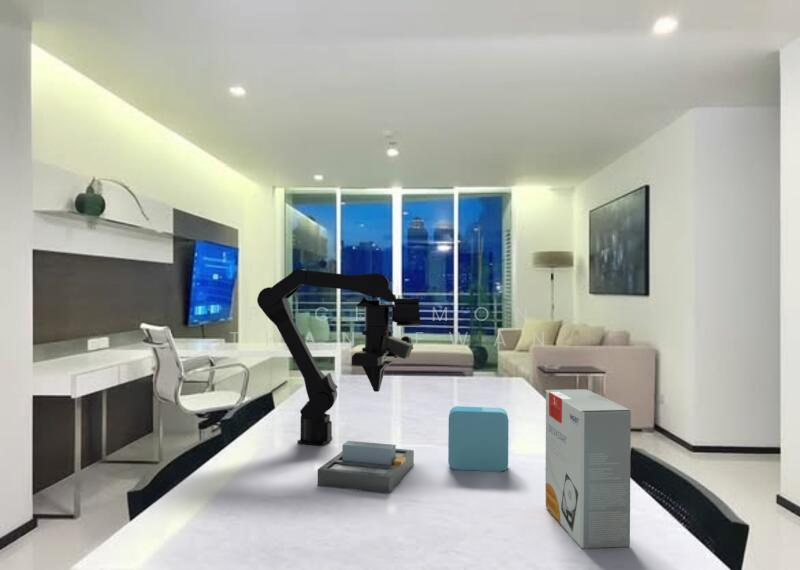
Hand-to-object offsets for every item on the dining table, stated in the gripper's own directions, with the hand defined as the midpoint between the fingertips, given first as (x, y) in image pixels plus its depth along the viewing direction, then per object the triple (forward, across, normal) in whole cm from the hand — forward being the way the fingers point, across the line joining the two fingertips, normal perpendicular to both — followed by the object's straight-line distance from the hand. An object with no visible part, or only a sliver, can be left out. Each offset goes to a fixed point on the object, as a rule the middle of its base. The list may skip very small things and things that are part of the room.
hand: (376, 391), depth 136 cm
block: (+12, -23, -6) cm, 27 cm away
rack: (+12, -23, -6) cm, 27 cm away
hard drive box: (+12, -36, -46) cm, 60 cm away
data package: (+12, -12, -26) cm, 31 cm away
